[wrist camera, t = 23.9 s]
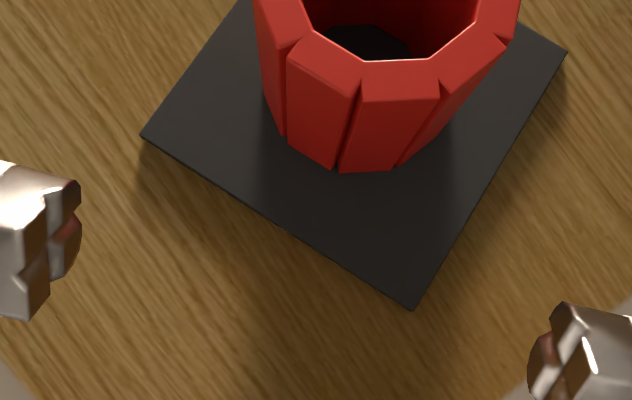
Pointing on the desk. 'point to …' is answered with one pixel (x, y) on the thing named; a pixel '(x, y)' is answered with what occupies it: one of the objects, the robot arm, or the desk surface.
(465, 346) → the desk surface
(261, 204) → the mat
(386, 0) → the ring
